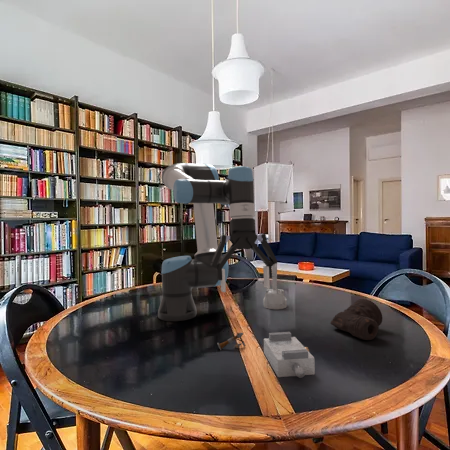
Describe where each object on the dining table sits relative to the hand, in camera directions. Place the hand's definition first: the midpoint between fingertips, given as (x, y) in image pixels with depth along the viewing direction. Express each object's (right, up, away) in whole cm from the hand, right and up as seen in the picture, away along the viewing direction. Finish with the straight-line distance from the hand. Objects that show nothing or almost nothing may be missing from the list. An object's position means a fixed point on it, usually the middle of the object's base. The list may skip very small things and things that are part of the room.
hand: (245, 289), depth 93 cm
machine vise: (+11, -16, -13) cm, 24 cm away
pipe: (+38, -16, +10) cm, 43 cm away
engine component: (+16, -16, +44) cm, 50 cm away
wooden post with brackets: (-4, -17, -1) cm, 18 cm away
